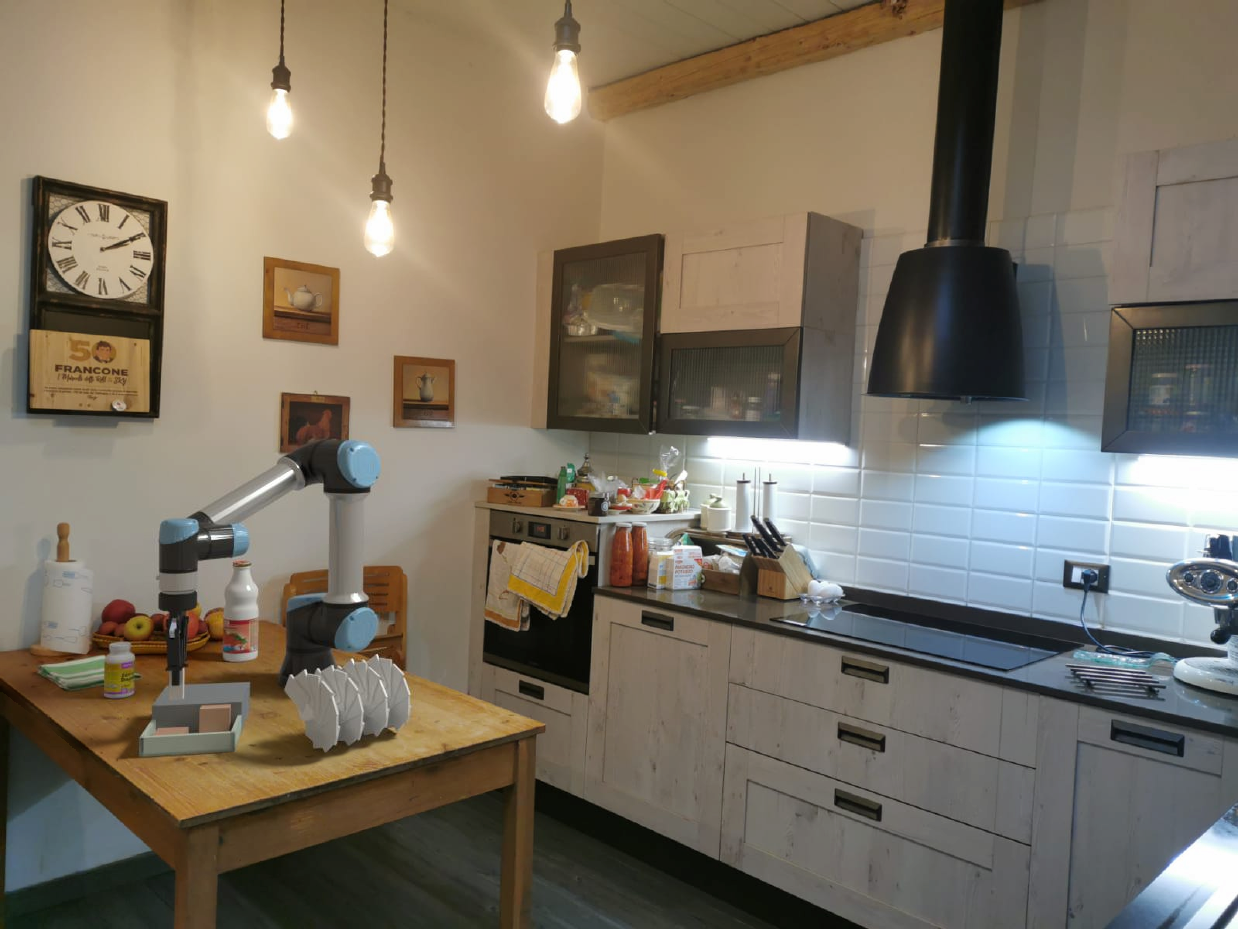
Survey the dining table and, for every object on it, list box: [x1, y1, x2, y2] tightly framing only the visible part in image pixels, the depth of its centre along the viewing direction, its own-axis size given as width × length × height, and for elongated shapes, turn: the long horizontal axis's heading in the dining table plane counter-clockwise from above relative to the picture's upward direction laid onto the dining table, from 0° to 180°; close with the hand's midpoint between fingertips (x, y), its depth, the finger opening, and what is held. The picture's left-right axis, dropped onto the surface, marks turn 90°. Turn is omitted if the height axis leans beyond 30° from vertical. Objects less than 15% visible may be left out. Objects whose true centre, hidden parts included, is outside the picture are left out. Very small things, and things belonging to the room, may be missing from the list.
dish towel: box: [36, 654, 143, 692], centre depth 239 cm, size 18×23×3 cm
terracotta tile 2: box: [152, 727, 189, 736], centre depth 190 cm, size 6×6×2 cm
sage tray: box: [138, 715, 242, 758], centre depth 192 cm, size 18×12×4 cm, turn 106°
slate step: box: [151, 681, 251, 733], centre depth 205 cm, size 18×16×7 cm
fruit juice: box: [222, 560, 260, 663], centre depth 260 cm, size 9×9×28 cm
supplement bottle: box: [103, 641, 136, 699], centre depth 223 cm, size 7×7×13 cm
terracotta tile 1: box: [199, 704, 231, 733], centre depth 197 cm, size 6×6×2 cm
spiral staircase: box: [283, 653, 413, 753], centre depth 198 cm, size 18×18×25 cm
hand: (176, 699), depth 195 cm, fingers closed
